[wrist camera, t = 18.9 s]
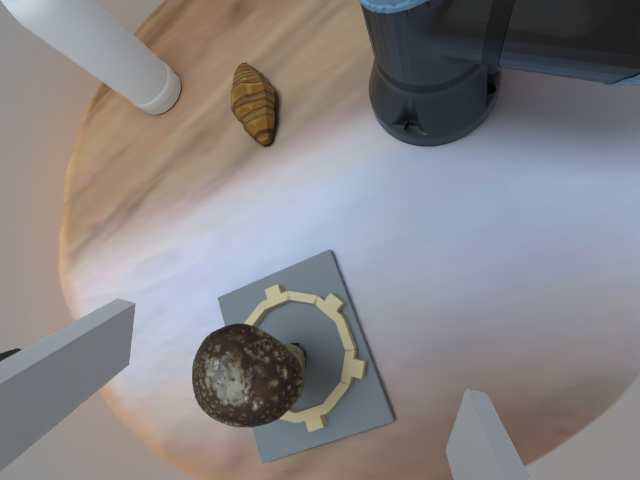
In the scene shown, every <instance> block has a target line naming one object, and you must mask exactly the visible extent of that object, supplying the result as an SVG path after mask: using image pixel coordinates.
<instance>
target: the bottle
mask: <svg viewBox="0 0 640 480" xmlns="http://www.w3.org/2000/svg"><path fill="white" fill-rule="evenodd" d="M1 1H2V3H3V4H4V5H5V6H6V8H7V9H8V10H9V11H10V12H11V14H12V15H13V16H14V17H15V18H16V19H17V20H18V21H19V23H20V24H21V25H23V26H24V27H25V28H27V29H28V30H29V31H31V32H32V33H34V34H35V35H37V36H38V37H39V38H41V39H42V40H44V41H45V42H47V43H48V44H49V45H51V46H52V47H54V48H55V49H57V50H58V51H59V52H61V53H62V54H64V55H65V56H66V57H68V58H69V59H71V60H72V61H74V62H75V63H76V64H78V65H79V66H81V67H82V68H84V69H85V70H86V71H88V72H89V73H91V74H92V75H93V76H95V77H96V78H98V79H99V80H101V81H102V82H103V83H105V84H106V85H108V86H109V87H111V88H112V89H113V90H115V91H116V92H118V93H119V94H121V95H122V96H123V97H125V98H126V99H128V100H129V101H130V102H131V103H132V104H134V105H135V106H136V107H138V108H139V109H142V110H143V111H145V112H146V113H148V114H151V115H159V114H162V113H164V112H166V111H168V110H169V109H170V108H171V107H172V106H173V105H174V104H175V102H176V101H177V99H178V97H179V94H180V91H181V82H180V79H179V77H178V75H176V74H175V73H174V72H173V70H172V69H171V68H170V67H169V66H168V65H167V64H166V63H165V62H163V61H162V60H161V59H159V58H158V57H157V56H156V55H155V54H154V53H153V52H152V51H151V50H150V49H148V48H147V47H146V46H145V45H144V44H143V43H142V42H141V41H140V40H139V39H138V38H137V37H136V36H134V35H133V34H132V33H131V32H130V31H129V30H128V29H127V28H126V27H125V26H124V25H123V24H121V23H120V22H119V21H118V20H117V19H116V18H115V17H114V16H113V15H112V14H111V13H110V12H109V11H107V10H106V9H105V8H104V7H103V6H102V5H101V4H100V3H99V2H98V1H97V0H1Z"/></svg>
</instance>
